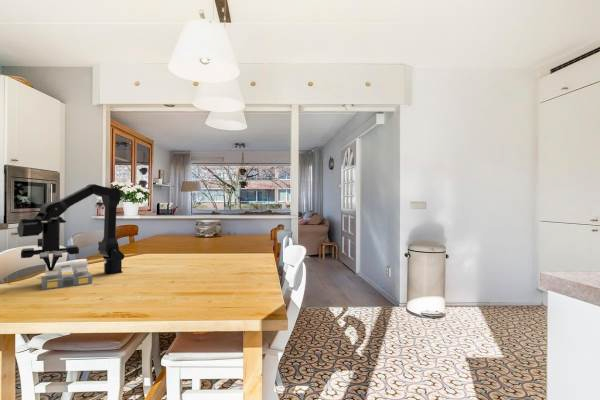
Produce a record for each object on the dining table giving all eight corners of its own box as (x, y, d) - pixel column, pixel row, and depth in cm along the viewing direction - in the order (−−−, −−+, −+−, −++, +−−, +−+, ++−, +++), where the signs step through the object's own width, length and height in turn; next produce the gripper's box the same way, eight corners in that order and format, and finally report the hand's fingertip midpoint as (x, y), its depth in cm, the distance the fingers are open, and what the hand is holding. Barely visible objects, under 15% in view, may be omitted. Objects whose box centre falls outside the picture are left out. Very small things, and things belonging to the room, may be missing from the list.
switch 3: (85, 270, 144) (85, 266, 144) (88, 270, 137) (88, 267, 137) (75, 271, 141) (74, 268, 141) (77, 272, 134) (77, 268, 134)
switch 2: (70, 267, 140) (71, 264, 140) (73, 276, 134) (73, 273, 133) (60, 268, 138) (60, 265, 138) (62, 277, 131) (62, 274, 131)
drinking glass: (45, 279, 145) (86, 274, 151) (44, 263, 145) (85, 259, 151) (48, 277, 151) (87, 272, 157) (48, 261, 151) (87, 257, 157)
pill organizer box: (87, 278, 146) (87, 270, 146) (92, 283, 136) (92, 275, 136) (41, 283, 135) (41, 275, 135) (42, 290, 126) (42, 281, 126)
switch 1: (56, 273, 137) (56, 270, 137) (57, 274, 130) (57, 270, 130) (45, 274, 135) (45, 271, 135) (46, 275, 128) (46, 272, 128)
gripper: (76, 230, 148) (76, 265, 149) (21, 232, 136) (21, 270, 137) (79, 234, 139) (78, 271, 140) (20, 236, 128) (20, 277, 129)
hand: (50, 272), depth 137 cm, fingers closed, pressing on switch 1
